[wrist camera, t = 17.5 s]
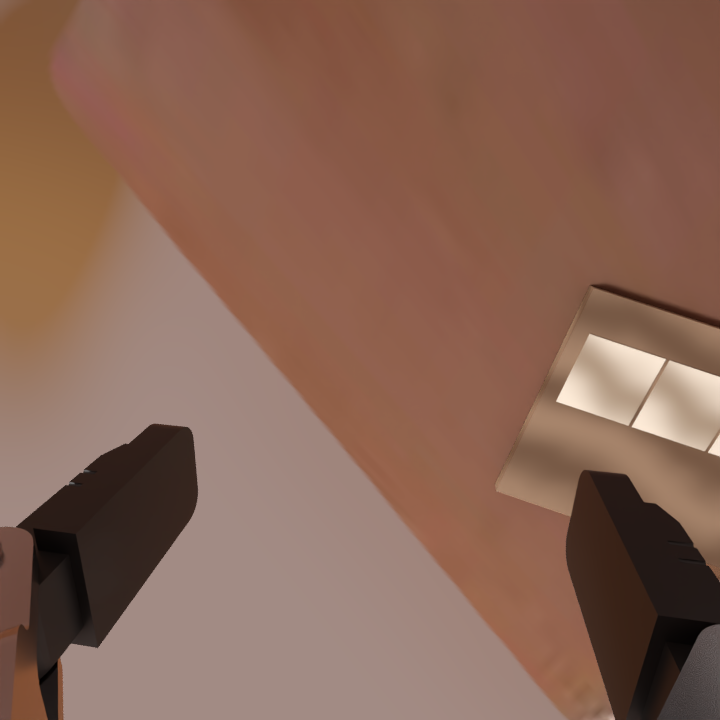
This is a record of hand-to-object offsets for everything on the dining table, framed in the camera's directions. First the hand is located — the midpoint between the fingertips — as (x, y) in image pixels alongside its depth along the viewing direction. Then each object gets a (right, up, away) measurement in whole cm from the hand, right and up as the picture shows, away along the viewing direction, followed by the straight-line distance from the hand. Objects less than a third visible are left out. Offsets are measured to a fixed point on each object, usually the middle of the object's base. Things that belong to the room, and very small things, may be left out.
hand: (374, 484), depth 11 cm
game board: (+26, -4, +30) cm, 40 cm away
